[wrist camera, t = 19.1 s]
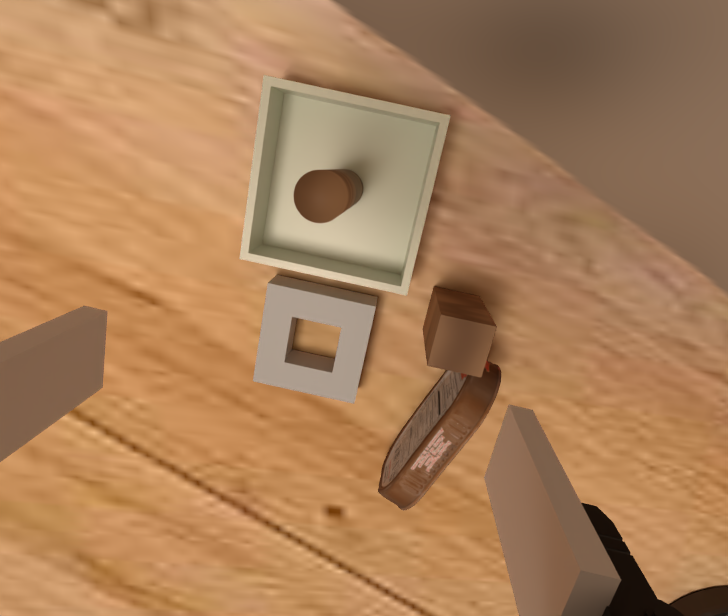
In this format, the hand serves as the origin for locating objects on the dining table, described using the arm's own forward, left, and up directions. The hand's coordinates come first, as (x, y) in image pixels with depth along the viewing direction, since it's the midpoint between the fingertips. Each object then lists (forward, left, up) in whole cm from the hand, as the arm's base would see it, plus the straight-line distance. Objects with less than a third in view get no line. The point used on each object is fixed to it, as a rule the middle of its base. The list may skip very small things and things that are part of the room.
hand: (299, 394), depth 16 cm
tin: (-9, +13, -27) cm, 32 cm away
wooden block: (-9, +4, -27) cm, 29 cm away
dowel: (+2, -5, -26) cm, 27 cm away
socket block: (+2, +8, -27) cm, 28 cm away
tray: (+2, -5, -27) cm, 28 cm away
